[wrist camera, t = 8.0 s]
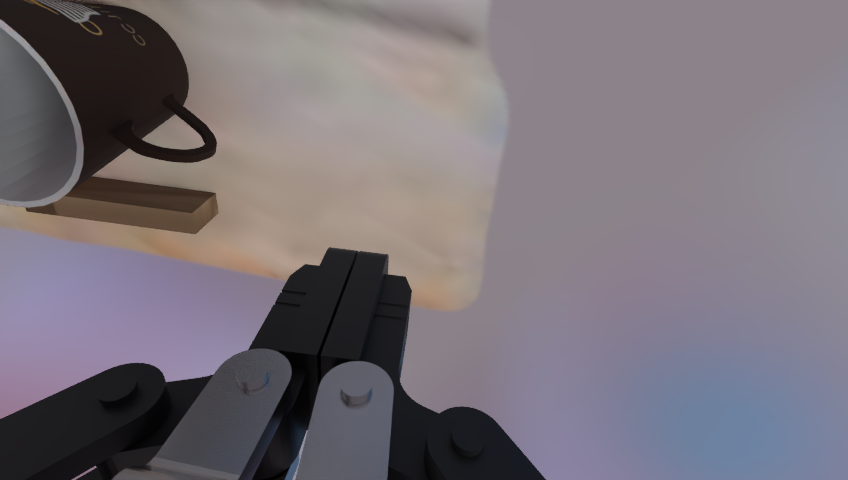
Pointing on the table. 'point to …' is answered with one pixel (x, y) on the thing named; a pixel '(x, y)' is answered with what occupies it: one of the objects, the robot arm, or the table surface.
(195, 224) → the walnut corral
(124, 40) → the coffee mug
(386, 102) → the table surface
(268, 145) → the table surface
